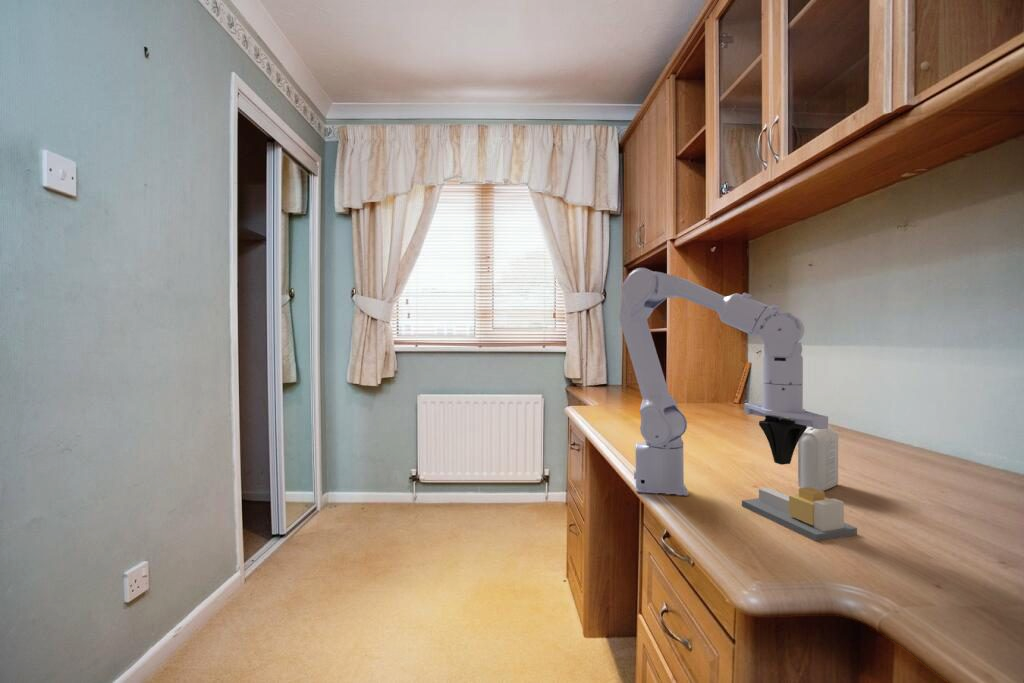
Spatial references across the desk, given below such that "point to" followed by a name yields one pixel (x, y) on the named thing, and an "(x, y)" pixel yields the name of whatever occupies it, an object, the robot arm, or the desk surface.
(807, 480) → the photo printer
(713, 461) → the desk surface
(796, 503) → the slider
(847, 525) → the rail board
